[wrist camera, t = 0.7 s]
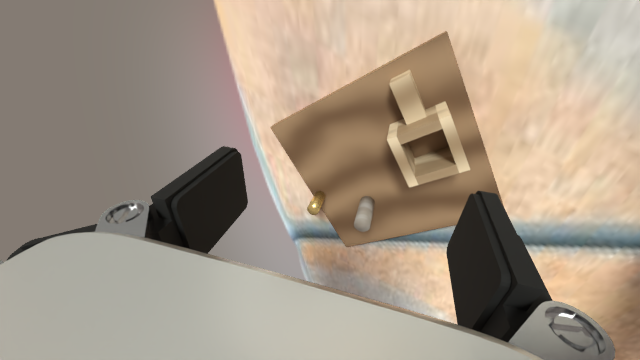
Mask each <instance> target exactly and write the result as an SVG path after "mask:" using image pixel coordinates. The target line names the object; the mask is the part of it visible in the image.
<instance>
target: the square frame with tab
mask: <svg viewBox="0 0 640 360" xmlns="http://www.w3.org/2000/svg"><path fill="white" fill-rule="evenodd" d="M389 85H390V87H391V89H392V92H393V94H394V96H395V99H396V101H397V103H398V106H399V108H400V110H401V113H402V115H403V117H404V119H402V120H400V121H397V122H395V123H392V124H390V126H389V131H388V136H387V141H388V143H389V146H390V148H391V150H392V152H393V154H394V156H395V158H396V161H397V163H398V165H399V167H400V169H401V171H402V173H403V176H404V178H405V180H406V182H407V184H408V186H409V188H410V187H413V186H417V185H420V184H423V183H427V182H430V181H434V180H437V179H441V178H444V177H448V176H451V175H455V174H458V173H461V172H465V171H468V170H470V167H469V164H468V161H467V158H466V156H465V153H464V150H463V147H462V145H461V142H460V139H459V136H458V133H457V131H456V128H455V125H454V122H453V119H452V117H451V114H450V111H449V109H448V106H447V104H446V102H442V103H440V104H438V105H435V106H433V107H430V108H428V109H425V107H424V104H423V102H422V99H421V97H420V94H419V92H418V89H417V86H416V84H415V81H414V79H413V76H412V74H411V71H410V70H408V71H406V72H404V73H402V74H400V75H398V76H396V77H394V78H392V79H391V80H390V84H389ZM441 129H443V131H444V134H445V136H446V139H447V142H448V144H449V147H446V148H443V149H440V150H437V151H434V152H431V153H428V154H425V155H422V156H420V157H417V158H414V156H413V153H412V151H411V149H410V147H409V144H408V142H409V141H412V140H414V139H417V138H420V137H422V136H425V135H428V134H430V133H433V132H436V131H438V130H441Z"/></svg>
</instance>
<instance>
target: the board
mask: <svg viewBox="0 0 640 360" xmlns="http://www.w3.org/2000/svg"><path fill="white" fill-rule="evenodd" d="M408 70H410V71H411V74H412V76H413V79H414V81H415V84H416V86H417V89H418V92H419V94H420V97H421V99H422V102H423V104H424V107H425V109H428V108H430V107H433V106H435V105H438V104H440V103H442V102H446V104H447V106H448V109H449V111H450V114H451V117H452V119H453V122H454V125H455V128H456V131H457V133H458V136H459V139H460V142H461V145H462V147H463V150H464V153H465V156H466V158H467V161H468V164H469V167H470V170H468V171H465V172H461V173H458V174H455V175H451V176H448V177H444V178H441V179H437V180H434V181H430V182H427V183H423V184H420V185H417V186H413V187H410V188H409V186H408V184H407V182H406V180H405V178H404V176H403V173H402V171H401V169H400V167H399V165H398V163H397V161H396V158H395V156H394V154H393V152H392V150H391V148H390V146H389V143H388V141H387V136H388V131H389V126H390V124H392V123H395V122H397V121H400V120H402V119H404V117H403V115H402V113H401V110H400V108H399V106H398V103H397V101H396V99H395V96H394V94H393V92H392V89H391V87H390V85H389V84H390V80H391V79H392V78H394V77H396V76H398V75H400V74H402V73H404V72H406V71H408ZM270 128H271V129H272V131H273V132H274V134H275V135H276V137H277V139H278V140H279V142H280V143H281V145H282V147H283V148H284V150H285V151H286V153H287V154H288V156H289V158H290V159H291V161H292V162H293V164H294V165H295V167H296V169H297V170H298V172H299V173H300V175H301V177H302V178H303V180H304V181H305V183H306V184H307V186H308V188H309V189H310V191H311V192H312V194H313V196H314V195H315V193H316V192H317V191H322V192H324V193H325V195H326V197H325V200H324V202H323V204H322V206H321V208H322V210H323V211H324V213H325V214H326V216H327V218H328V219H329V221H330V222H331V224H332V226H333V227H334V229H335V230H336V232H337V233H338V235H339V237H340V238H341V240H342V241H343V243H344V244H345V246H346V247H349V246H354V245H359V244H364V243H369V242H374V241H379V240H384V239H389V238H394V237H399V236H404V235H409V234H414V233H418V232H423V231H428V230H433V229H438V228H443V227H448V226H453V225H457V223H458V220H459V218H460V216H461V214H462V211H463V209H464V207H465V204H466V202H467V200H468V197H469V195H470V194H471V193H473V194H475V193H476V192H477V191H485V192H490V193H496V194H497V195H498V197H499V199H500V201H501V203H502V200H501V197H500V194H499V191H498V187H497V184H496V181H495V178H494V175H493V172H492V169H491V166H490V163H489V160H488V157H487V154H486V150H485V147H484V144H483V141H482V138H481V135H480V132H479V129H478V126H477V123H476V120H475V117H474V113H473V110H472V107H471V104H470V101H469V98H468V95H467V92H466V89H465V86H464V83H463V79H462V76H461V73H460V70H459V67H458V64H457V61H456V58H455V55H454V52H453V49H452V46H451V42H450V39H449V36H448V33H447V32H446V31H445V32H443V33H442V34H440V35H438V36H436V37H434V38H432V39H431V40H429V41H427V42H425V43H423V44H421V45H420V46H418V47H416V48H414V49H412V50H410V51H408V52H407V53H405V54H403V55H401V56H399V57H397V58H396V59H394V60H392V61H390V62H388V63H386V64H385V65H383V66H381V67H379V68H377V69H375V70H373V71H372V72H370V73H368V74H366V75H364V76H362V77H361V78H359V79H357V80H355V81H353V82H351V83H350V84H348V85H346V86H344V87H342V88H340V89H338V90H337V91H335V92H333V93H331V94H329V95H327V96H326V97H324V98H322V99H320V100H318V101H316V102H315V103H313V104H311V105H309V106H307V107H305V108H303V109H302V110H300V111H298V112H296V113H294V114H292V115H291V116H289V117H287V118H285V119H283V120H281V121H280V122H278V123H276V124H274V125H273V126H272V127H270ZM408 144H409V147H410V149H411V151H412V153H413V156H414V158H417V157H420V156H422V155H425V154H428V153H431V152H434V151H437V150H440V149H443V148H446V147H449V144H448V142H447V139H446V136H445V134H444V131H443V129H441V130H438V131H436V132H433V133H430V134H428V135H425V136H422V137H420V138H417V139H414V140H412V141H409V142H408ZM502 205H503V203H502ZM503 207H504V206H503Z"/></svg>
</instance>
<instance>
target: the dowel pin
mask: <svg viewBox="0 0 640 360" xmlns="http://www.w3.org/2000/svg"><path fill="white" fill-rule="evenodd" d="M325 197H326V195H325V193H324V192H322V191H317V192H316V193H315V195H314V197H313V199H312V200H311V202H310V204H309V206H308V208H307V210H308V212H309V213H310V214H312V215H316V214H318V212H319V210H320V208H321V206H322V204H323V202H324V200H325Z"/></svg>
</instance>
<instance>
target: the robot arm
mask: <svg viewBox="0 0 640 360" xmlns="http://www.w3.org/2000/svg"><path fill="white" fill-rule="evenodd" d="M151 199H152V202H153V204H152V205H150V206H149V205H148V204H147V203H146V202H144V201H141V200H132V201H126V202H122V203H119V204H117V205H115V206H113V207H111V208H109V209H108V210H106V211H105V212H104V213H103V214H102V216H101V217H100V219H99V222H98V224H95V225H91V226H87V227H83V228H79V229H75V230H71V231H67V232H63V233H59V234H55V235H51V236H47V237H43V238H38V239H34V240H31V241H29V242H27V243H25V244H24V245H22V246H21V247H20V248H19V249H17V250H16V251H15V252H14V253H12V254H11V255H10V257H9V258H8V259H7V261H6V262H3V261H2V260H0V360H614V358H615V348H614V345H613V343H612V340H611V339H610V337H609V336H608V335H607V333H606V332H605V331H604V330H603V329H602V328H601V327H600V326H599V325H598V324H597V323H596V322H595V321H594V320H593V319H592V318H590V317H589V316H588V315H586V314H585V313H583V312H581V311H580V310H578V309H576V308H574V307H572V306H570V305H567V304H565V303H562V302H557V301H552V299H551V297H550V295H549V293H548V291H547V289H546V287H545V285H544V283H543V281H542V279H541V277H540V275H539V273H538V271H537V269H536V267H535V265H534V263H533V261H532V259H531V257H530V255H529V253H528V251H527V249H526V247H525V245H524V243H523V241H522V239H521V238H520V236H519V235H517V233H516V231H515V229H514V227H513V225H512V223H511V221H510V219H509V217H508V215H507V213H506V211H505V209H504V207H503V205H502V203H501V201H500V199H499V197H498V195H497V194H496V193H490V192H485V191H477V192H476V193H475V194H473V193H471V194H470V195H469V197H468V200H467V202H466V204H465V207H464V209H463V211H462V214H461V216H460V218H459V220H458V223H457V225H456V227H455V230H454V232H453V234H452V237H451V239H450V241H449V244H448V247H447V259H448V265H449V272H450V278H451V284H452V291H453V297H454V304H455V310H456V316H457V323H458V325H457V324H454V323H450V322H447V321H443V320H440V319H437V318H433V317H430V316H427V315H423V314H420V313H417V312H413V311H410V310H407V309H403V308H400V307H396V306H393V305H389V304H386V303H382V302H379V301H375V300H372V299H368V298H365V297H361V296H358V295H354V294H351V293H347V292H343V291H340V290H336V289H333V288H329V287H326V286H322V285H319V284H315V283H311V282H308V281H304V280H301V279H296V278H293V277H290V276H286V275H283V274H279V273H276V272H272V271H268V270H265V269H261V268H257V267H254V266H250V265H246V264H243V263H239V262H236V261H232V260H228V259H225V258H221V257H217V256H213V255H210V254H208V252H209V251H210V250H211V249H212V248H213V247H214V245H215V244H216V243H217V242H218V241H219V239H220V238H221V237H222V236H223V235H224V233H225V232H226V231H227V230H228V229H229V228H230V226H231V225H232V224H233V223H234V222H235V221H236V219H237V218H238V217H239V216H240V215H241V213H242V212H243V211H244V210H245V209H246V207H247V203H248V200H247V193H246V186H245V179H244V172H243V165H242V159H241V154H240V153H239V152H238V151H237V149H235V148H230V147H224V146H223V147H221V148H219V149H218V150H217V151H215V152H214V153H212V154H211V155H209V156H208V157H207V158H205V159H204V160H202V161H201V162H199V163H198V164H197V165H195V166H194V167H192V168H191V169H189V170H188V171H187V172H185V173H184V174H182V175H181V176H179V177H178V178H177V179H175V180H174V181H172V182H171V183H169V184H168V185H167V186H165V187H164V188H162V189H161V190H160V191H158V192H157V193H155V194H154V195H152V196H151Z"/></svg>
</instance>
